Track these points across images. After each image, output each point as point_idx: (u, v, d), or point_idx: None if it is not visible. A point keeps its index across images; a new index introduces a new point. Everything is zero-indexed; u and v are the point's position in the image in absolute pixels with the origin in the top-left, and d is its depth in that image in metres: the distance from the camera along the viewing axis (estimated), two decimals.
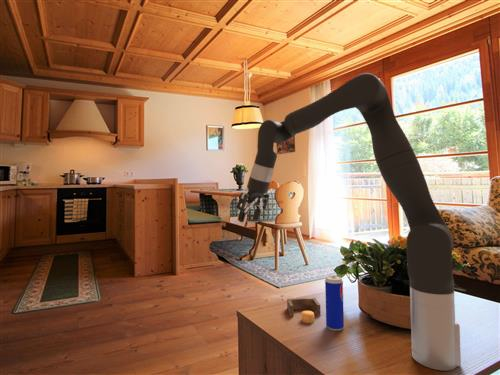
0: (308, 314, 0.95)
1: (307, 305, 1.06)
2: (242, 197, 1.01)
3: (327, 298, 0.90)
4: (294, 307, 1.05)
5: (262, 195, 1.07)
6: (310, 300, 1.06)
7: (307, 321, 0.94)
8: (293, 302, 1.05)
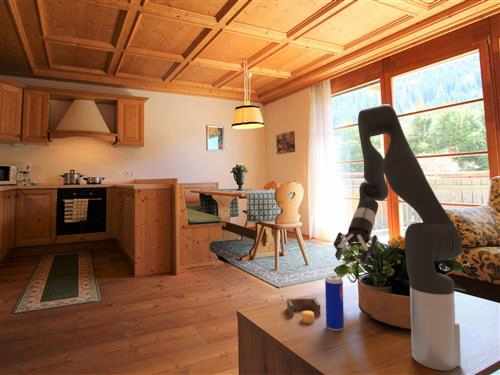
0: (308, 314, 0.95)
1: (307, 305, 1.06)
2: None
3: (327, 298, 0.90)
4: (294, 307, 1.05)
5: (364, 235, 1.03)
6: (310, 300, 1.06)
7: (307, 321, 0.94)
8: (293, 302, 1.05)
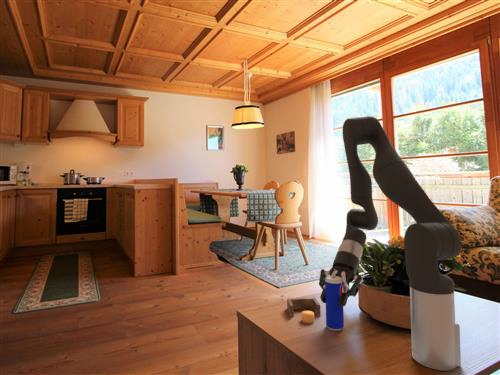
0: (308, 314, 0.95)
1: (307, 305, 1.06)
2: None
3: (327, 298, 0.90)
4: (294, 307, 1.05)
5: (349, 272, 0.93)
6: (310, 300, 1.06)
7: (307, 321, 0.94)
8: (293, 302, 1.05)
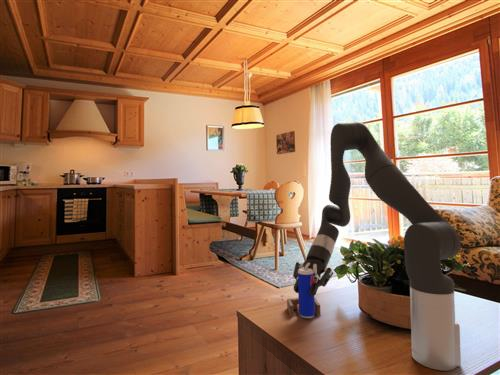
0: None
1: None
2: None
3: (299, 288, 0.97)
4: (294, 307, 1.05)
5: (321, 264, 1.00)
6: None
7: None
8: (293, 302, 1.05)
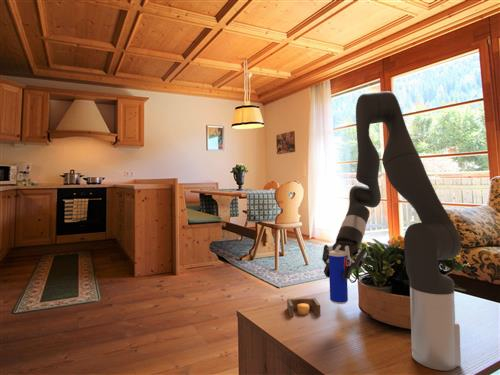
0: (304, 306, 1.02)
1: None
2: None
3: (331, 272, 0.89)
4: (294, 307, 1.05)
5: (353, 246, 0.92)
6: (310, 300, 1.06)
7: (303, 313, 1.01)
8: (293, 302, 1.05)
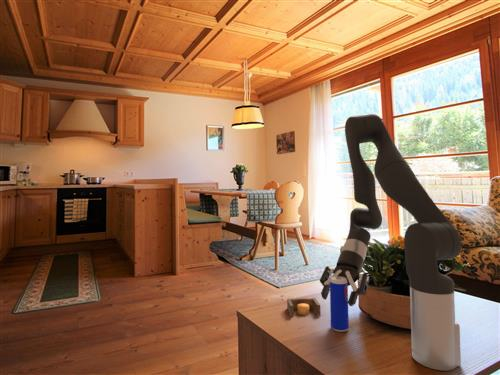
0: (304, 306, 1.02)
1: None
2: None
3: (332, 299, 0.89)
4: (294, 307, 1.05)
5: (353, 272, 0.92)
6: (310, 300, 1.06)
7: (303, 313, 1.01)
8: (293, 302, 1.05)
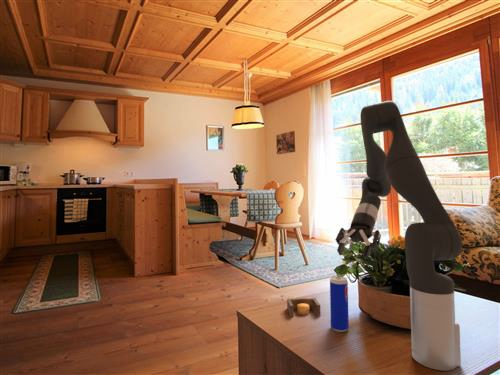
0: (304, 306, 1.02)
1: None
2: None
3: (332, 299, 0.89)
4: (294, 307, 1.05)
5: (366, 230, 1.02)
6: (310, 300, 1.06)
7: (303, 313, 1.01)
8: (293, 302, 1.05)
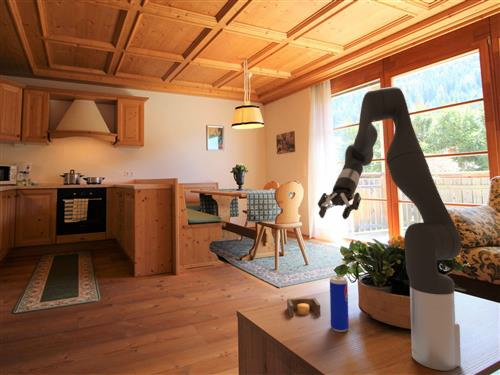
0: (304, 306, 1.02)
1: None
2: None
3: (332, 299, 0.89)
4: (294, 307, 1.05)
5: (347, 193, 1.04)
6: (310, 300, 1.06)
7: (303, 313, 1.01)
8: (293, 302, 1.05)
